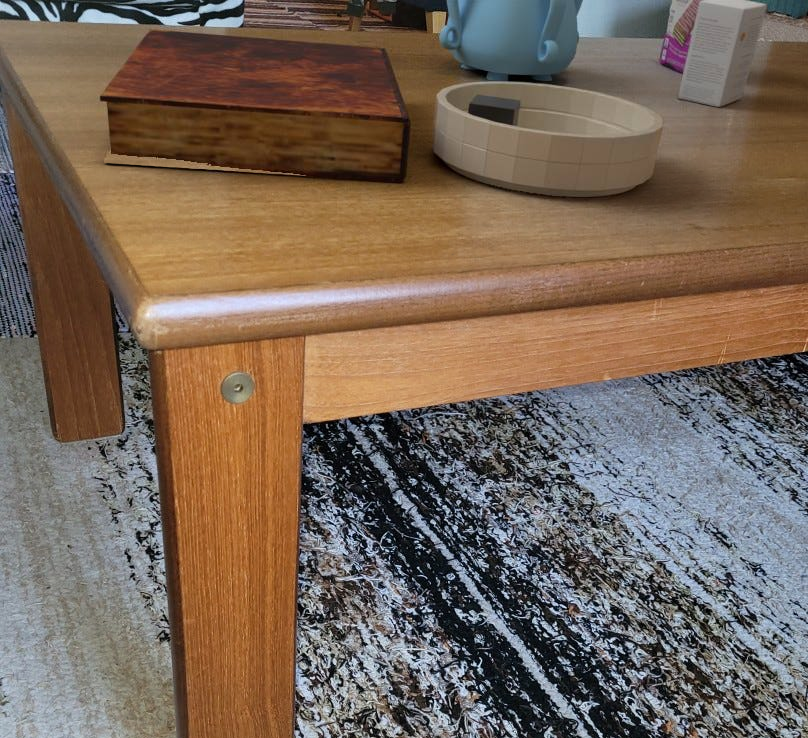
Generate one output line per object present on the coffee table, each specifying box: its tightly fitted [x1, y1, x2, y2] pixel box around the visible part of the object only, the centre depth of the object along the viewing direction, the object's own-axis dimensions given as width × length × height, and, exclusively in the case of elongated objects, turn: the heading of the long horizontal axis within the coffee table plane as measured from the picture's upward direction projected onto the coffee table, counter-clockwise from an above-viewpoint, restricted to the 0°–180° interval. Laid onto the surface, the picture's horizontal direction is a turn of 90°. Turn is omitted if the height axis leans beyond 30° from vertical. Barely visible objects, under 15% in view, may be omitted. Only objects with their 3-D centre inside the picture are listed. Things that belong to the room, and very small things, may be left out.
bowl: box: [431, 80, 664, 198], centre depth 87 cm, size 20×20×5 cm
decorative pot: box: [438, 0, 584, 82], centre depth 118 cm, size 16×16×14 cm
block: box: [468, 94, 521, 126], centre depth 87 cm, size 4×4×4 cm
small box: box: [677, 0, 768, 108], centre depth 117 cm, size 8×6×10 cm
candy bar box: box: [658, 0, 749, 74], centre depth 129 cm, size 11×5×16 cm, turn 17°
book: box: [99, 28, 412, 184], centre depth 90 cm, size 30×24×5 cm
